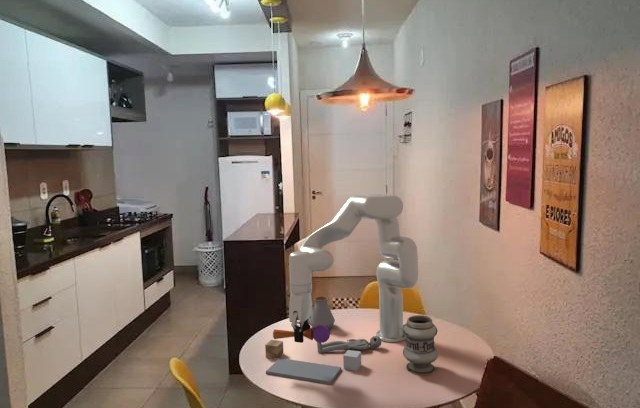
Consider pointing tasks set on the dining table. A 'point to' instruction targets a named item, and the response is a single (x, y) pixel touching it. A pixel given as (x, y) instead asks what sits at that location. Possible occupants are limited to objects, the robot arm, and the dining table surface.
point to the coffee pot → (321, 313)
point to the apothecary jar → (420, 344)
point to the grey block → (352, 360)
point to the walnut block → (274, 349)
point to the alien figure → (349, 344)
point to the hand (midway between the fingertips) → (302, 338)
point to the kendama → (306, 334)
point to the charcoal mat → (304, 370)
